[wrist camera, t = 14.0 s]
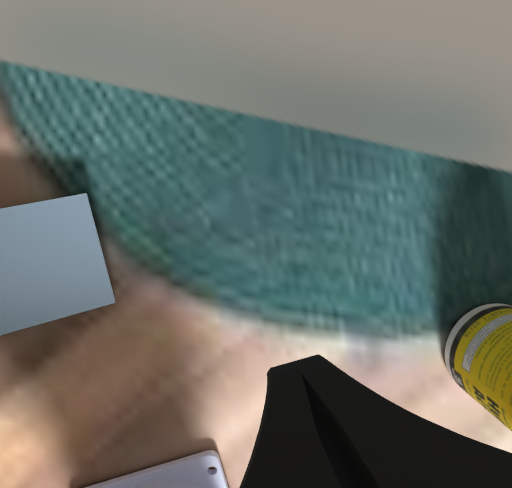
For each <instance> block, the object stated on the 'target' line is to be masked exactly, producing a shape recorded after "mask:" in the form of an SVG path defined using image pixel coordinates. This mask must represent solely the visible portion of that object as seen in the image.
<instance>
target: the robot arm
mask: <svg viewBox="0 0 512 488" xmlns="http://www.w3.org/2000/svg"><path fill="white" fill-rule="evenodd" d="M213 466H214V467H216V468H215V469H213V470H211V469H209V467H213ZM85 488H229V487H228V484H227V481H226V477H225V474H224V471H223V468H222V464H221V461H220V458H219V455H218V453H217V452H215V451H213V450H207V451H204V452H200V453H197V454H194V455H191V456H187V457H184V458H181V459H177V460H174V461H171V462H167V463H164V464H161V465H157V466H154V467H151V468H147V469H144V470H141V471H138V472H134V473H131V474H128V475H124V476H121V477H118V478H114V479H111V480H108V481H104V482H101V483H98V484H94V485H91V486H88V487H85ZM240 488H512V453H510V452H507V451H504V450H501V449H498V448H495V447H492V446H490V445H487V444H484V443H481V442H478V441H476V440H473V439H470V438H468V437H465V436H463V435H460V434H458V433H455V432H453V431H451V430H449V429H446V428H444V427H442V426H439V425H437V424H435V423H432V422H430V421H428V420H426V419H424V418H421V417H419V416H417V415H415V414H413V413H411V412H409V411H407V410H405V409H404V408H402V407H400V406H398V405H396V404H394V403H392V402H391V401H389V400H387V399H385V398H384V397H382V396H380V395H379V394H377V393H375V392H374V391H372V390H371V389H369V388H367V387H366V386H364V385H363V384H361V383H359V382H358V381H356V380H355V379H353V378H352V377H350V376H349V375H347V374H346V373H345V372H343V371H342V370H340V369H339V368H337V367H336V366H335V365H333V364H332V363H331V362H329V361H328V360H327V359H325V358H324V357H322V356H320V355H319V354H318V355H315V356H311V357H307V358H304V359H300V360H297V361H293V362H290V363H286V364H283V365H279V366H276V367H272V368H270V369H269V371H268V373H267V393H266V400H265V405H264V410H263V415H262V419H261V424H260V428H259V432H258V435H257V438H256V442H255V445H254V448H253V452H252V455H251V458H250V461H249V464H248V467H247V470H246V472H245V475H244V478H243V480H242V483H241V485H240Z"/></svg>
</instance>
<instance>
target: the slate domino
mask: <svg viewBox="0 0 512 488" xmlns="http://www.w3.org/2000/svg"><path fill="white" fill-rule="evenodd" d="M113 303H116V302H115V297H114V293H113V289H112V286H111V282H110V278H109V274H108V271H107V267H106V263H105V259H104V256H103V252H102V248H101V244H100V241H99V237H98V233H97V230H96V226H95V222H94V218H93V215H92V211H91V207H90V203H89V200H88V196H87V193H84V194H79V195H73V196H68V197H62V198H56V199H51V200H45V201H40V202H34V203H29V204H23V205H18V206H12V207H7V208H1V209H0V336H1V335H4V334H8V333H11V332H15V331H18V330H22V329H25V328H29V327H32V326H36V325H39V324H43V323H46V322H50V321H53V320H57V319H60V318H64V317H67V316H71V315H74V314H78V313H81V312H85V311H89V310H92V309H96V308H99V307H103V306H106V305H110V304H113Z"/></svg>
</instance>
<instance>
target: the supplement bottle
mask: <svg viewBox="0 0 512 488" xmlns="http://www.w3.org/2000/svg"><path fill="white" fill-rule="evenodd" d="M445 363H446V367H447V370H448V372H449V374H450V376H451V377H452V378H453V380H454V381H455V382H456V383H457V384H458V385H459V386H460V387H461V388H462V389H463V390H464V391H465V392H467V393H468V394H469V395H470V396H471V397H472V398H474V399H475V400H476V401H477V402H478V403H480V404H481V405H482V406H483V407H484V408H485V409H486V410H488V411H489V412H490V413H491V414H492V415H493V416H495V417H496V418H497V419H498V420H499V421H500V422H502V423H503V424H504V425H505V426H506V427H507V428H509V429H510V430H511V431H512V306H510V305H506V304H499V303H495V304H486V305H483V306H479V307H477V308H475V309H473V310H471V311H470V312H468V313H467V314H465V315H464V316H463V317H462V318H461V319H460V320H459V321H458V322H457V323H456V324H455V326H454V327H453V329H452V330H451V332H450V335H449V337H448V339H447V343H446V347H445Z"/></svg>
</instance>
